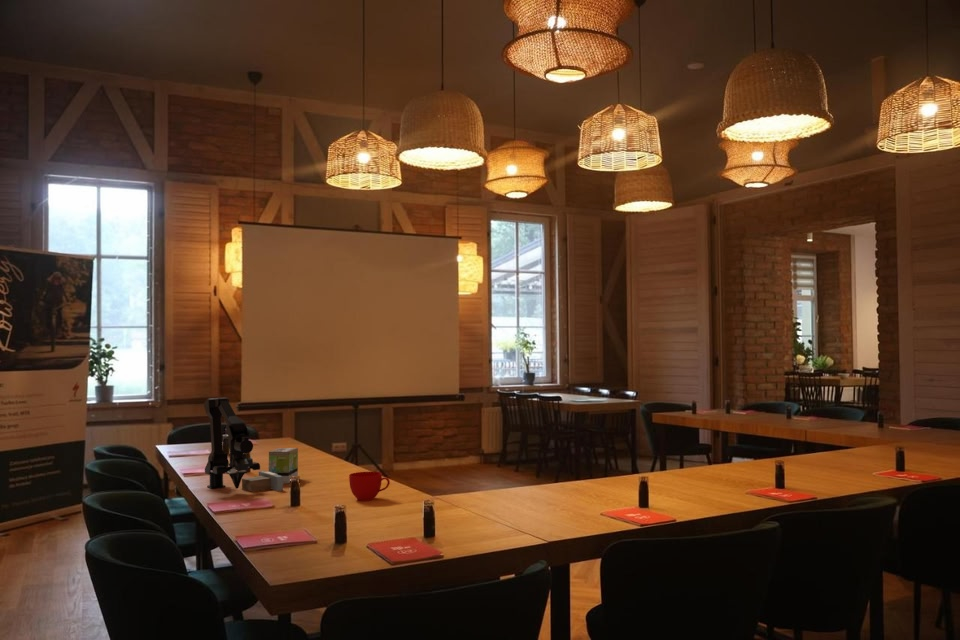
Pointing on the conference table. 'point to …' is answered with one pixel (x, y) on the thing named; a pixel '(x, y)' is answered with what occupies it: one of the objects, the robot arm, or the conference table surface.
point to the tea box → (284, 462)
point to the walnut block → (256, 483)
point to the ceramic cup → (366, 485)
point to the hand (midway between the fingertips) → (236, 488)
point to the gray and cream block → (273, 480)
